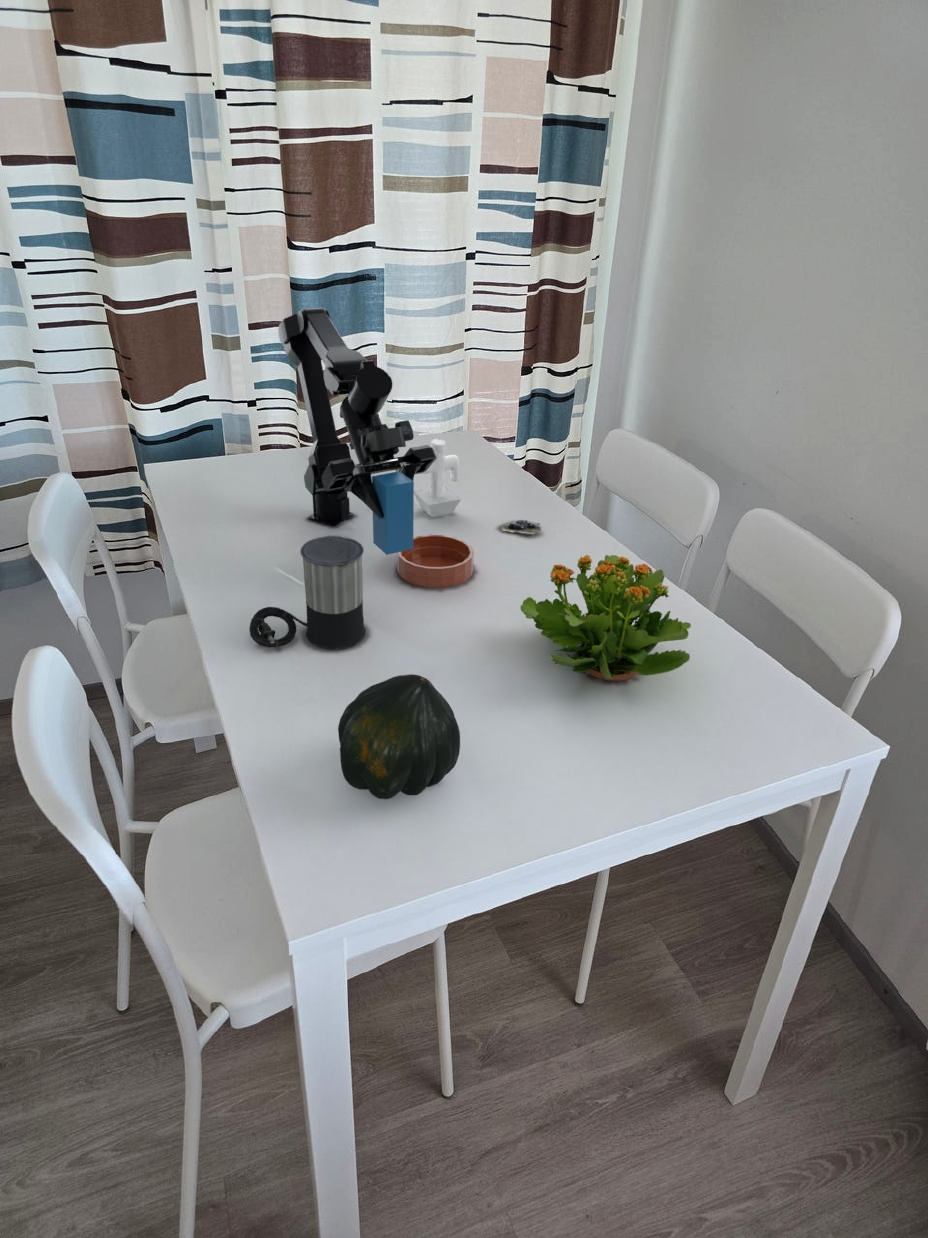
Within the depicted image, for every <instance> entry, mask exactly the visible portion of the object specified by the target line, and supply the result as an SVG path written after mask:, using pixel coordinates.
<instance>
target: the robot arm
mask: <svg viewBox="0 0 928 1238" xmlns="http://www.w3.org/2000/svg"><path fill="white" fill-rule="evenodd" d="M277 330H278V331H277V332H278V338H279V342H280V344H281V345H283V349H284V353H285V355H286V357H287V358H288V359H289V361H291V362H292V364H293V365H294V366H295V367H296V368H297V372H298V376H299V381H300V386H301V391H302V395H303V400H304V405H305V409H306V415H307V419H308V423H309V428H310V433H311V438H312V442H313V444H312V447H311V449H310V452H309V455H308V466H307V467H306V470H305V472H304V475H303V481H304V487H305V489H306V490H307V491H308V492H309V494H310V495H311V496H312V512H313V513H312V514H310V515H308V520H311V521H314V522H316V523H317V522H318V523H320V524H321V523H322V524H324V525H327V526H330V527H336V526H338V525H339V524H342V523H343V522H345V521H347V520H348V519H350V518H351V517H353V516H354V513H353V512H351V510H350V509H351V508H350V497H349V496H348V492H349V493H352V494H353V495H354V496H355V497H357V498H358V499H359V500H360V501H361V502H363V504H365V505H366V506H367V508H369V509H370V511H372V513H373V512H374V513H375V514H376V515H377V516H378V517H379V518H380V519H382V518H383V517H384V514H383V510H382V507H381V505H380V502H379V500H378V497H377V495H376V492H375V490H374V488H373V485H372V475H375V474H380V473H386V472H391V471H395V472H398V471H400V472H401V473H402V474H404V475H405V476H407V477H408V478H409V479H411V480H412V481H414V479H415V475H421V474H420V473H423V472H425V471H426V470H427V469H428V468H429V467H430V466H431V464H432V463H433V462H434V461H435V460H436V458H437V457H436V455H435V452H434V449H433V448H432V447H431V445H430V444H424V445H417V446H418V447H417V446H413V447H409V448H408V449H407V451H406V452H405V454H404V455H402V456H398V457H397V456H396V457H395V455H397V454H398V453H399V452H400V449H399V448H406V447H407V444H406V442H409V441H413V440H414V438H415V437H414V436H415V435H414V431H413V427H412V425H411V423H410V420H407V419H406V420H399V421H397V422H395V423H394V427H390V428H389V426H388V425H387V424H386V423H383V422H382V421H381V417H380V415H379V412H380V411H382V409H383V408H384V405H385V403H386V402H387V399H388V398H389V396H390V393H391V392H392V389H393V380H392V377H391V376H390V375H389V373H388V372H386V371H385V370H384V369H383V368H382V367H379V366H376V364H375V361H374V360H372V359H371V360H368V359H366V358H365V356H364V355H363V354H362V353H361V352H359V351H357V350H354V349H351V348H349V346H347V344H346V343H345V341H344V339H343V337H342V336H341V335H340V333H339V331H338V330H337V328H336V326H335V325H334V324H333V322H332V320H331V317H330V313H329V310H328V309H327V308H324V307H308V308H307V307H306V308H302V309H300V310H298V311H297V312H296V313H295V314H292V315H289V316H287V317H284V318H283V319H282V320H281V322H280V323H279V325H278V329H277ZM322 362H323V363H322ZM323 364H324V368H323ZM328 391H329V392H328ZM329 393H330V394H331V395H332V396H334V397H336V396H346V395H347V396H346V397H345V398H343V400H342V401H341V404H340V406H339V417H340V418H341V419H343V422H344V425H345V428H346V430H347V433H348V436H349V438H350V442H349V445H348V443H347V442H342V440H341V439H340V438H339V436H338V435H337V429H336V425H335V420H334V415H333V410H332V406H331V401H330V396H329ZM350 450H352V451H353V450H354V452H355V455H356V457H357V461H358V463H355V462H354V459H352V456H351V451H350Z"/></svg>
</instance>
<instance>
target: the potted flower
mask: <svg viewBox="0 0 928 1238" xmlns="http://www.w3.org/2000/svg"><path fill="white" fill-rule="evenodd" d="M630 561H631V560H630V559H629V558H628V557H625V556H622V555H621V556H619V555H616V554H611V555H608V554H606V555H605V556H604V560H603V559H600V560H599V561H598V562H597V566H595V568H594V571H593V574H590V575H589V577H588V576H587V571H590V570H592V568H591V566H592V562H593V559H592V558H591V556H590V555H588V554H585V555H584V556H580V558H578V560H577V568H578V569H579V570H580V573H578V574H577V575H576V577H573V576H572V575H574V574H575V573H576V572H575V571H574V570H573V569H571V568H568V567H566V565H563V564H554V565H553V566H552V569H551V572H550V573H549V574H550V575H549V576H550V582H552V583H553V584H554V585H555V586H556V588H557V589H555V590H554V593H555V594H556V595H558V597H559V598H554V599H553V601H550V599H548V598H546V599H544V600H540V601H538V602H537V601H536V600H535V599H534V598H532V597H531V596H528V597H527V598H525V599H524V600H523V601H522V604H521V605H520V611H521V612H522V613H523V615H525V618H526V619H530V620H531V619H532V620H533V622H534V623H535V624H534V627H535V628H536V629H538V630H542V631H540V635H542V637H545V638H546V639H548V640H551V641H552V643H553V644H557V645H559V646H561V647H562V648H558V649H556V650H555V651H556V652H565V655H566V656H567V657H564V656H561V655H557V654H553V653H550V654H549V656H550V658H551V661H552V662H553V664H554V665H556V666H565V667H573V668H572V672H573V673H584V672H585V673H588V674H589V675H590V676H592V677H595V678H597V679H600V680H605V681H609V682H611V681H616V682H620V681H627V680H631V679H632V678H634V677H635V676H637V675H638V674H639V675H641V676H656V675H661V674H665V673H669V672H672V671H675V670H676V669H678V668H680V667H682V666H683V665H684V664H685V663H687V662H689V661H690V658H691V656H690V655H691V654H689V653H688V652H687V651H686V650H681V649H678V650H675V649H673V650H665V651H662V652H660V653H659V651H656V652H654V653H651V652H652V651H653V650H654V649H655V647H656V646H657V645H658V644H659V643H664V642H674V641H682V640H683V641H684V640H686V639H688V637H689V629H690V628H691V627H692V624H691V623H690V622H688V621H685V622H683V621H681V620H679V617H676V618H675V619H672V618H670V614H671V610H668V611H667V612H666V613H665V615H664V616H663V613H662V612H660V611H659V610H655V611H651V610H650V609H651V607H652V606H653V605H654V603H655V602H656V601H657V600H658V599H659V598H661V597H665V598H669V597H670V596H669V594H668V593H669V590H668V589H669V585H664V584H663V583H664V579H665V576H666V575H665V573H664V570H663V569H657V570H655V571H654V572H653V570H652V568H651V566H649V565H648V564H645V563H640V564H635V565H634V564H633V563H630ZM634 566H635V567H634ZM571 576H572V577H571ZM574 581H575V582H576V583H577V587H578V589H579V591H580V592H581V594H582V598H583V600H584V603H585V605H586V609H587V612H585V613H582V610H581V609H580V607H579V605H577V603H573V604H571V603H569V601H568V597H567V590H566V585H568V584H571V583H574ZM562 590H563V594H562ZM662 616H663V617H662ZM633 623H634V624H633ZM578 645H579V646H578ZM568 653H576V655H577V656H572V655H570V654H568ZM649 653H650V654H649Z"/></svg>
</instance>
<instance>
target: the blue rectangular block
mask: <svg viewBox="0 0 928 1238" xmlns="http://www.w3.org/2000/svg"><path fill="white" fill-rule="evenodd" d="M371 479H372V485H373V488H374V490H375V492H376V495H377V497H378V500H379V502H380V505H381V507H382V510H383V514H384V517H383V518H382V519H380V518H379V517H378V516H377V515H376V514H375V513H374V512H373V511H372V540H373V542H372V543H373V544H374V545H375V546H376V547H377V548H378V549H380V551H382V552H383V553H384V554H385V555H387V556H389V555H392V554H397V552H401V551H406V550H410V549H413V538H414V515H415V514H414V512H415V511H414V510H415V509H414V504H415V503H414V502H415V501H414V500H415V498H414V497H415V494H414V492H415V488H414V487H415V483H414V480H413V481H412V480H411V479H409V478H408V477H407V476H405V475H404V474H402V473H401V472H400V471H398V472H396V471H393V472H388V473H383V474H382V473H381V474H377V475H371Z"/></svg>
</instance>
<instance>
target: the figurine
mask: <svg viewBox="0 0 928 1238" xmlns="http://www.w3.org/2000/svg"><path fill="white" fill-rule="evenodd" d="M418 446H419V445H417V446H416V447H418ZM446 446H447V442H446V441H444V440H443V439H440V438H433V439H431V440H430V447H432V448H433V449H434V452H435V455H436V457H437V458H436V460H435V461H434V462H433V463H432V464H431V466H430V467H429V468H428V469H427V470H426V471H425V472H423V473H420V474H419V475H425V474H430V488H427V489H421V490H414V497H415V498H416V500H417V503H418V505H419V507H420V509H421V510H422V511H423V512H425V513H426V514H427V515H428V516H429V517H430V518H435V517H441V516H446V515H451V514H453V513H454V511H455V509H456V508H457V507H458V506H459V503H461V501H462V498H461V497H459V496H458V495H457V494H456V493H454V492H453V491H452V490H450V489H449V488H448V487H447V486H445V472H446V471H450V474H449V475H450V476H449V477H450V480H451V481H452V482H455V483H457V482H459V481H460V475H461V473H460V472H461V461H460V458H459V456H458V455H456V454H449V455H446Z"/></svg>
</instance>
